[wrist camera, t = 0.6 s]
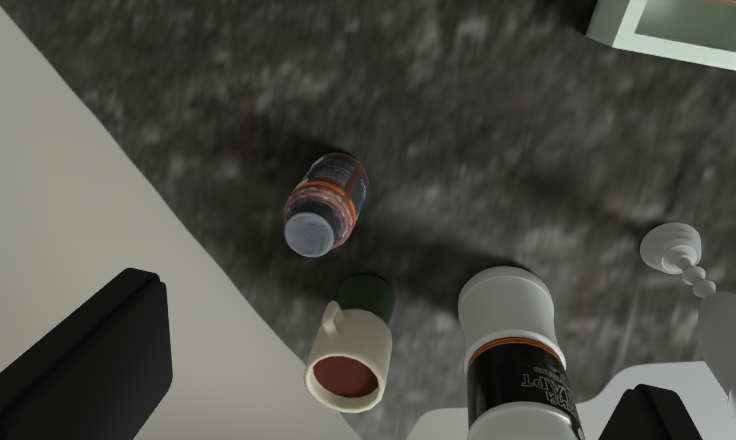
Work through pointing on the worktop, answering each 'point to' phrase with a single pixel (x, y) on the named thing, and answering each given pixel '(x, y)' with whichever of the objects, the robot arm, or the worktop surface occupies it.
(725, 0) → the wooden block with tab
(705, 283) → the chalice
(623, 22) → the holder
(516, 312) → the vodka
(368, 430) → the worktop surface
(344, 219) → the supplement bottle
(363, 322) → the character mug
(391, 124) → the worktop surface
